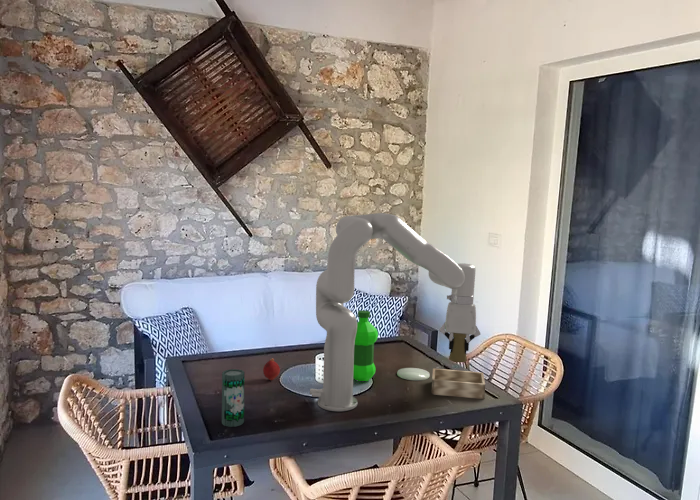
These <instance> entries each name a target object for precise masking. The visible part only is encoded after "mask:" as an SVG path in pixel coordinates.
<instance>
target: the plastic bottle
mask: <svg viewBox="0 0 700 500" xmlns="http://www.w3.org/2000/svg"><path fill="white" fill-rule="evenodd" d="M357 318H358V319H359V320H357V333H356V337H355V345H354V371H353V380H354V379H355V380H358V381H367V382H369V380H371V379H372V378H373V376H375V374H376V369H377V368H376V365H375V362H374V355H375V354H374V352H375V351H374V349H375V343H376V342H377V340H378V338H379V332H378V329H377V328H376V327H375V326H374V325H373V324H372V323H371V322H370V321H369V318H371V311H369V310H366V309H365V310H364V309H362V310H358V311H357ZM355 380H354V381H355ZM358 381H357V382H358Z"/></svg>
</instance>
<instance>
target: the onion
mask: <svg viewBox="0 0 700 500" xmlns="http://www.w3.org/2000/svg"><path fill="white" fill-rule="evenodd" d="M262 371H263V375H264V377H265V378H266V379H267V380H270V381H274V380H275V379H276V378H277V377H279V375H280V373H281V367H280V365H279V364H278V362H276V361H275V358H270V360H268V361H266V363H265V364H264V365H263V370H262Z"/></svg>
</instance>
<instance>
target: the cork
mask: <svg viewBox="0 0 700 500" xmlns="http://www.w3.org/2000/svg"><path fill="white" fill-rule="evenodd" d="M465 339H466V334H457V333H453V341H454V343H453V350H452V353H451V350H450V352H449V355H448V356H449V357H448V359H449V360H450V361H451V362H454V363H465V362H467V361H468V360H467V359H468V358H467V353H466V354H465Z"/></svg>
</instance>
